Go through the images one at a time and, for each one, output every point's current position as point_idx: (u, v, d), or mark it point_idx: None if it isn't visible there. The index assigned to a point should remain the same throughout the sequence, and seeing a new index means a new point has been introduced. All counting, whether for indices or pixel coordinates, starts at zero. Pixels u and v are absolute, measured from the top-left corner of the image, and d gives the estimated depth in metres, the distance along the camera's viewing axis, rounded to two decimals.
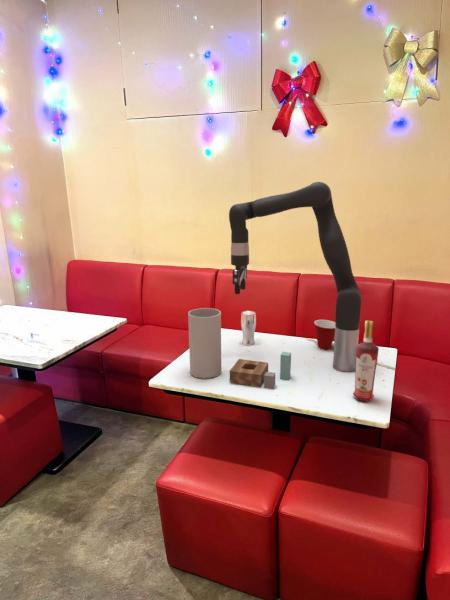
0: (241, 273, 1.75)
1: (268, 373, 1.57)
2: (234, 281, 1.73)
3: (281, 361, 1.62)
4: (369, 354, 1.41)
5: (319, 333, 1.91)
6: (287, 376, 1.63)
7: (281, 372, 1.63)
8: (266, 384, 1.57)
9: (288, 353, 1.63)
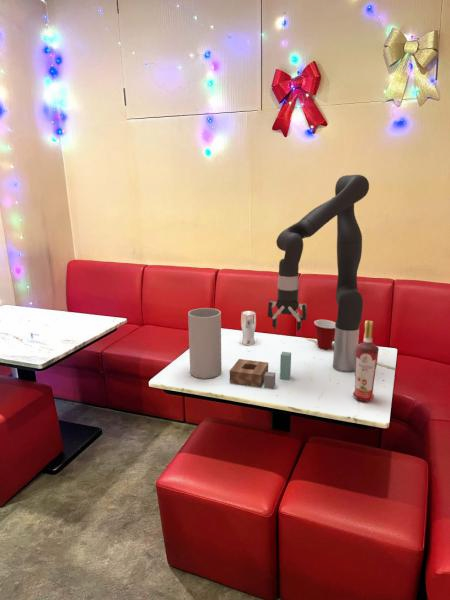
0: None
1: (268, 373, 1.57)
2: None
3: (281, 361, 1.62)
4: (369, 354, 1.41)
5: (319, 333, 1.91)
6: (287, 376, 1.63)
7: (281, 372, 1.63)
8: (266, 384, 1.57)
9: (288, 353, 1.63)
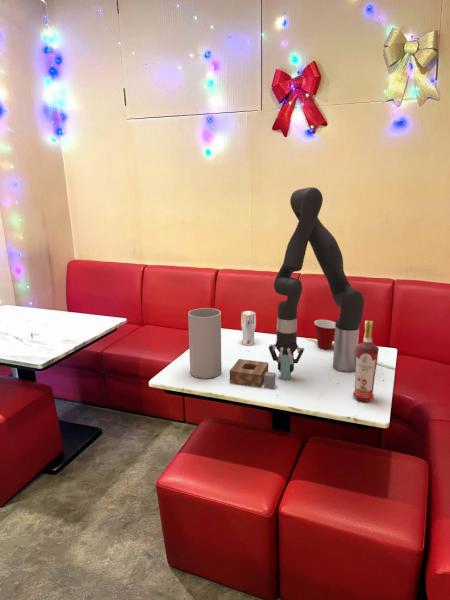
0: None
1: (268, 373, 1.57)
2: None
3: (281, 361, 1.62)
4: (369, 354, 1.41)
5: (319, 333, 1.91)
6: (287, 376, 1.63)
7: (281, 372, 1.63)
8: (266, 384, 1.57)
9: None
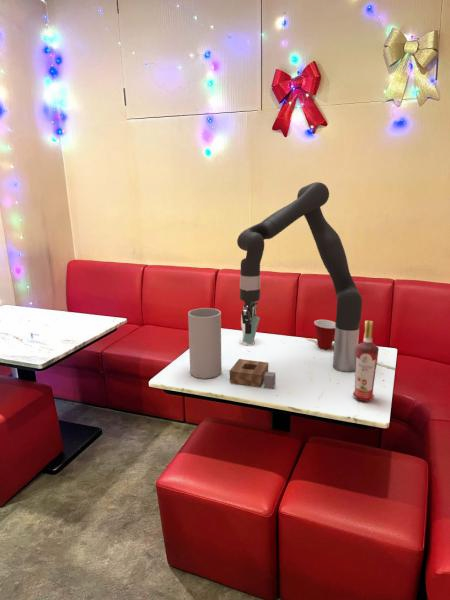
0: None
1: (268, 373, 1.57)
2: None
3: (256, 326, 1.57)
4: (369, 354, 1.41)
5: (319, 333, 1.91)
6: None
7: (253, 337, 1.59)
8: (266, 384, 1.57)
9: (253, 316, 1.59)
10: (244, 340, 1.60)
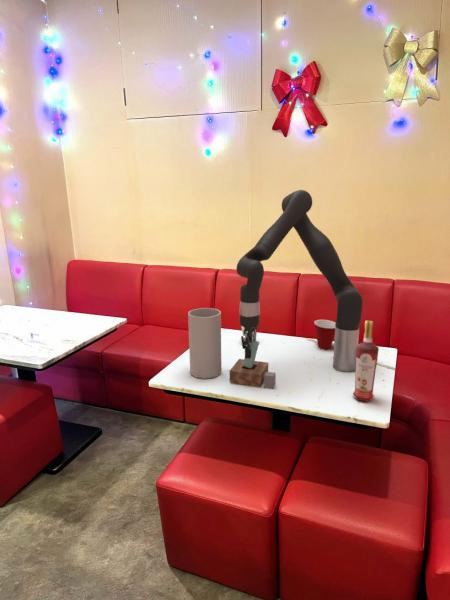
0: None
1: (268, 373, 1.57)
2: None
3: (255, 351, 1.60)
4: (369, 354, 1.41)
5: (319, 333, 1.91)
6: (253, 362, 1.64)
7: (252, 361, 1.61)
8: (266, 384, 1.57)
9: (253, 340, 1.61)
10: (244, 364, 1.62)
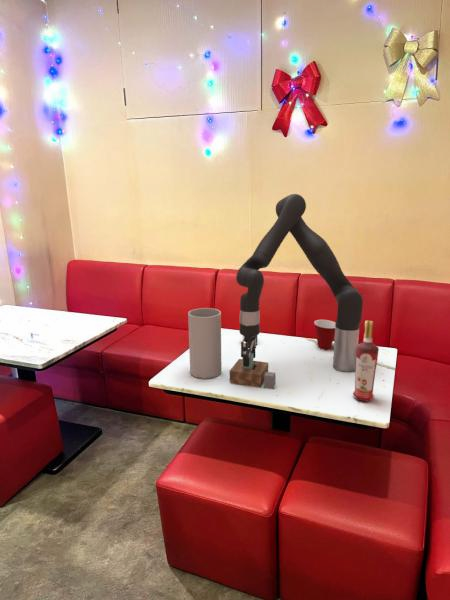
0: None
1: (268, 373, 1.57)
2: None
3: (251, 362, 1.61)
4: (369, 354, 1.41)
5: (319, 333, 1.91)
6: None
7: None
8: (266, 384, 1.57)
9: None
10: None
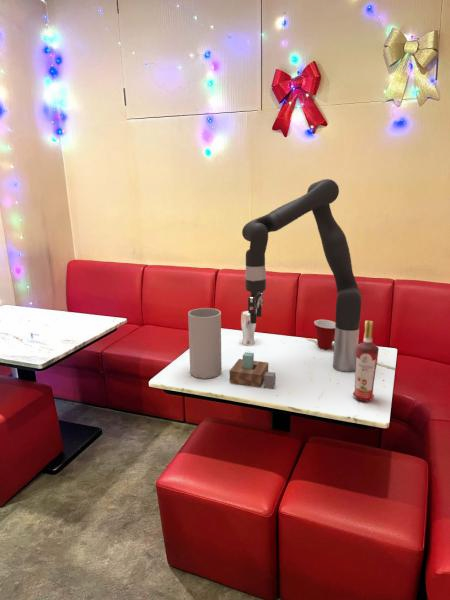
0: None
1: (268, 373, 1.57)
2: None
3: (251, 362, 1.61)
4: (369, 354, 1.41)
5: (319, 333, 1.91)
6: None
7: None
8: (266, 384, 1.57)
9: (247, 353, 1.63)
10: None
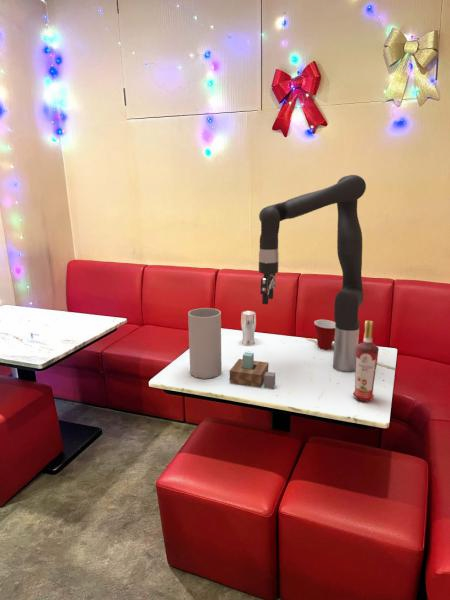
0: None
1: (268, 373, 1.57)
2: None
3: (251, 362, 1.61)
4: (369, 354, 1.41)
5: (319, 333, 1.91)
6: None
7: None
8: (266, 384, 1.57)
9: (247, 353, 1.63)
10: None
